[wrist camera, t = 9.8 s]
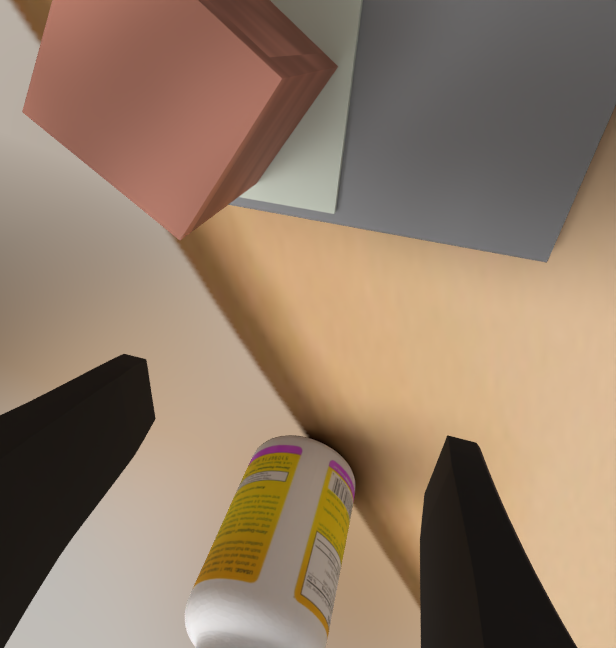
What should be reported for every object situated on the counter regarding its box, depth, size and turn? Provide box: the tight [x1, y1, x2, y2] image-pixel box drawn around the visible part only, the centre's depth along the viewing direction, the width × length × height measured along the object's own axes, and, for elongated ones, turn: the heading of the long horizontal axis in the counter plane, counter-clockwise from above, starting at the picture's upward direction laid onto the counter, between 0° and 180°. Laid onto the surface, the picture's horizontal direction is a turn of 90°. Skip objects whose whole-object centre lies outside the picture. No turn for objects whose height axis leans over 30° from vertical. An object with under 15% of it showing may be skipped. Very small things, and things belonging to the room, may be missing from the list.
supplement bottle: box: [185, 436, 355, 648], centre depth 22 cm, size 7×7×13 cm
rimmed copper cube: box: [23, 0, 338, 240], centre depth 13 cm, size 5×5×6 cm
